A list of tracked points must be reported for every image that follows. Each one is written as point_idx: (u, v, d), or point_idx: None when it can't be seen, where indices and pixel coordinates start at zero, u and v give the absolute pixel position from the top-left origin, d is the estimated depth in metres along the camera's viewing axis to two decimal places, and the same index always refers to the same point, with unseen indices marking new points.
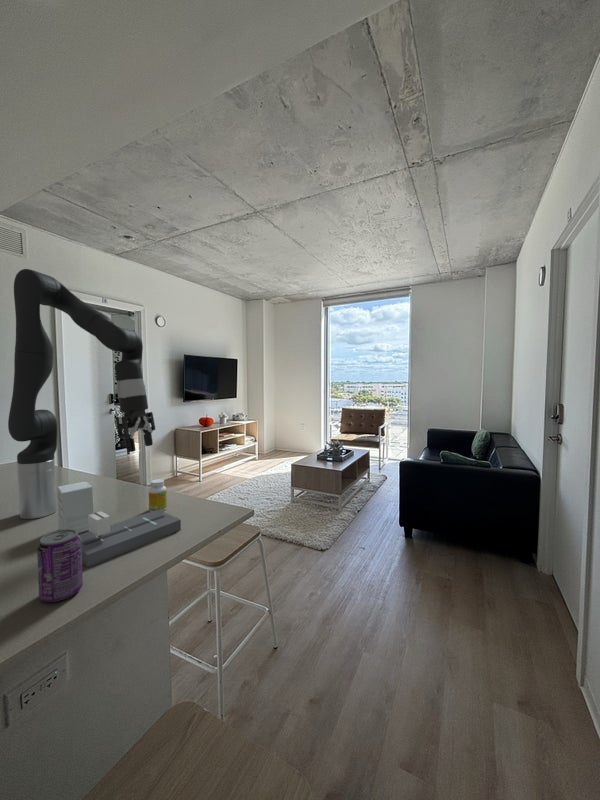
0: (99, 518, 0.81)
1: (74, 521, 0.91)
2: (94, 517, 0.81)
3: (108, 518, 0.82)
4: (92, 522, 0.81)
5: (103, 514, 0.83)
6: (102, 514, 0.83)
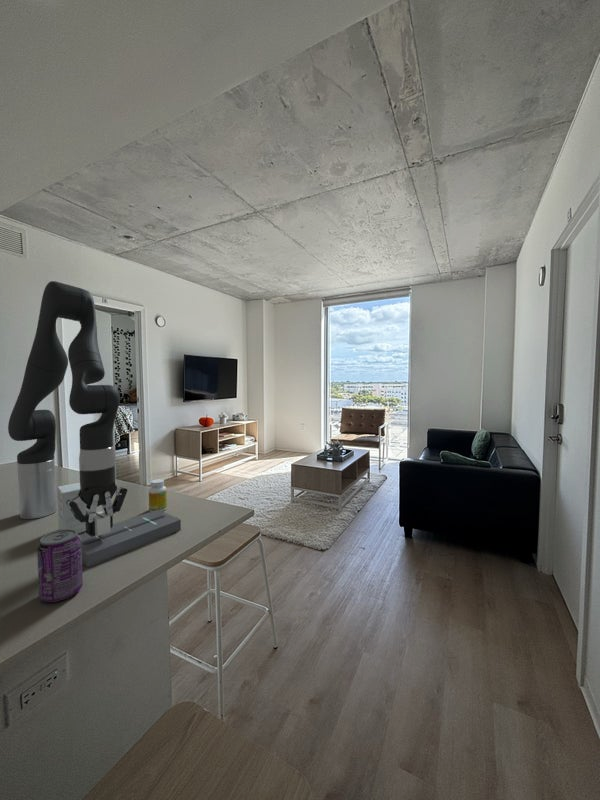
0: (99, 518, 0.81)
1: (74, 521, 0.91)
2: (94, 517, 0.81)
3: (108, 518, 0.82)
4: None
5: (103, 514, 0.83)
6: (102, 514, 0.83)
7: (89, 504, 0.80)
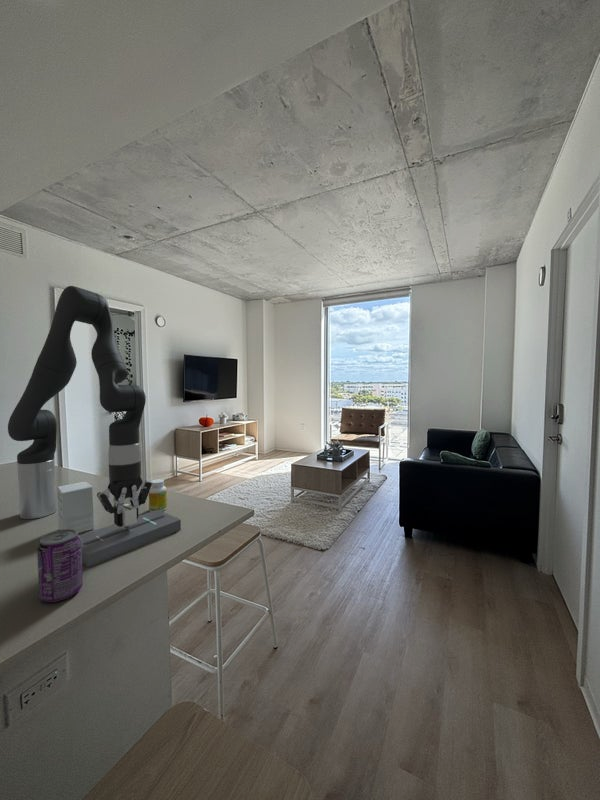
0: (127, 510, 0.86)
1: (74, 521, 0.91)
2: (122, 509, 0.87)
3: (135, 510, 0.87)
4: None
5: (130, 506, 0.88)
6: (129, 506, 0.88)
7: (118, 496, 0.85)
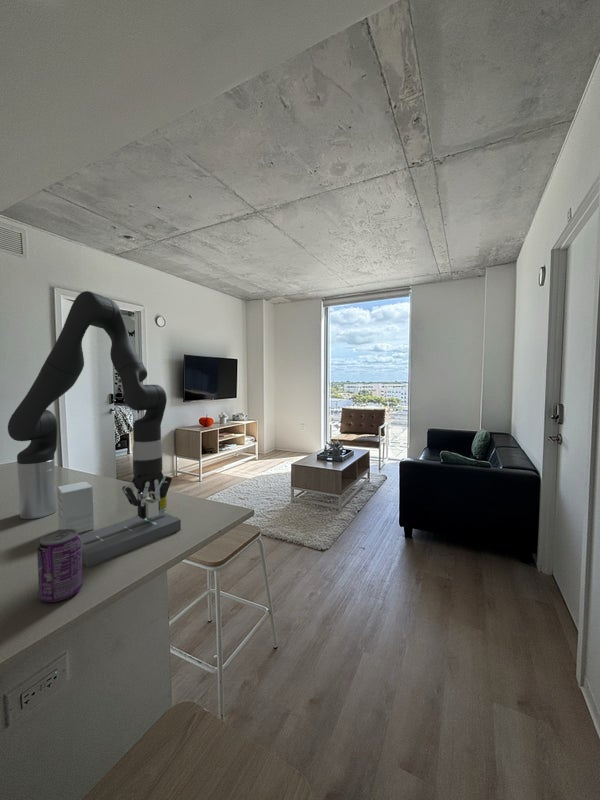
0: (150, 502, 0.91)
1: (74, 521, 0.91)
2: (145, 502, 0.92)
3: (157, 503, 0.92)
4: None
5: (152, 499, 0.93)
6: (151, 499, 0.93)
7: (141, 490, 0.90)
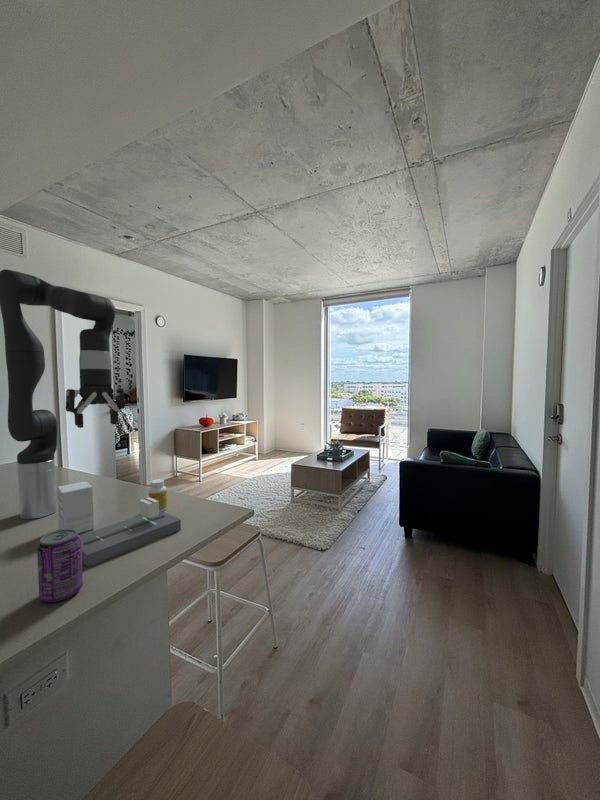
0: (150, 502, 0.91)
1: (74, 521, 0.91)
2: (145, 502, 0.92)
3: (157, 503, 0.92)
4: (143, 506, 0.92)
5: (152, 499, 0.94)
6: (151, 499, 0.94)
7: (85, 398, 0.89)
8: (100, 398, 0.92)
